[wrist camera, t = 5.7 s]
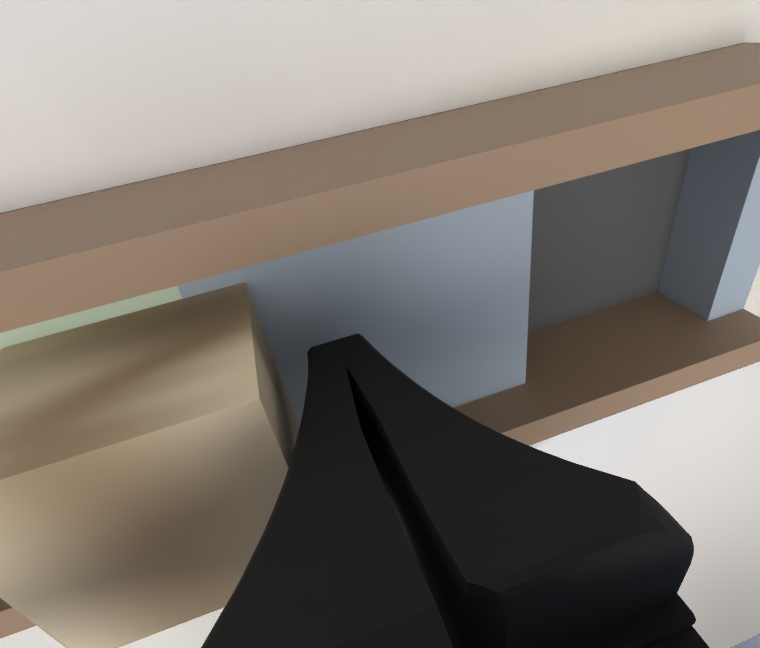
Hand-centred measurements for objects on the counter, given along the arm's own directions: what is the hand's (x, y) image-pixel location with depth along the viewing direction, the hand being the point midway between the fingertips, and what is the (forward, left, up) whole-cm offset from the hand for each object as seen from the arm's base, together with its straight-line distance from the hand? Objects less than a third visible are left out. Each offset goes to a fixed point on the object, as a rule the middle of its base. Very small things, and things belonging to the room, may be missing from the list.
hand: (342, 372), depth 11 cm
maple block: (+4, 0, -1) cm, 4 cm away
